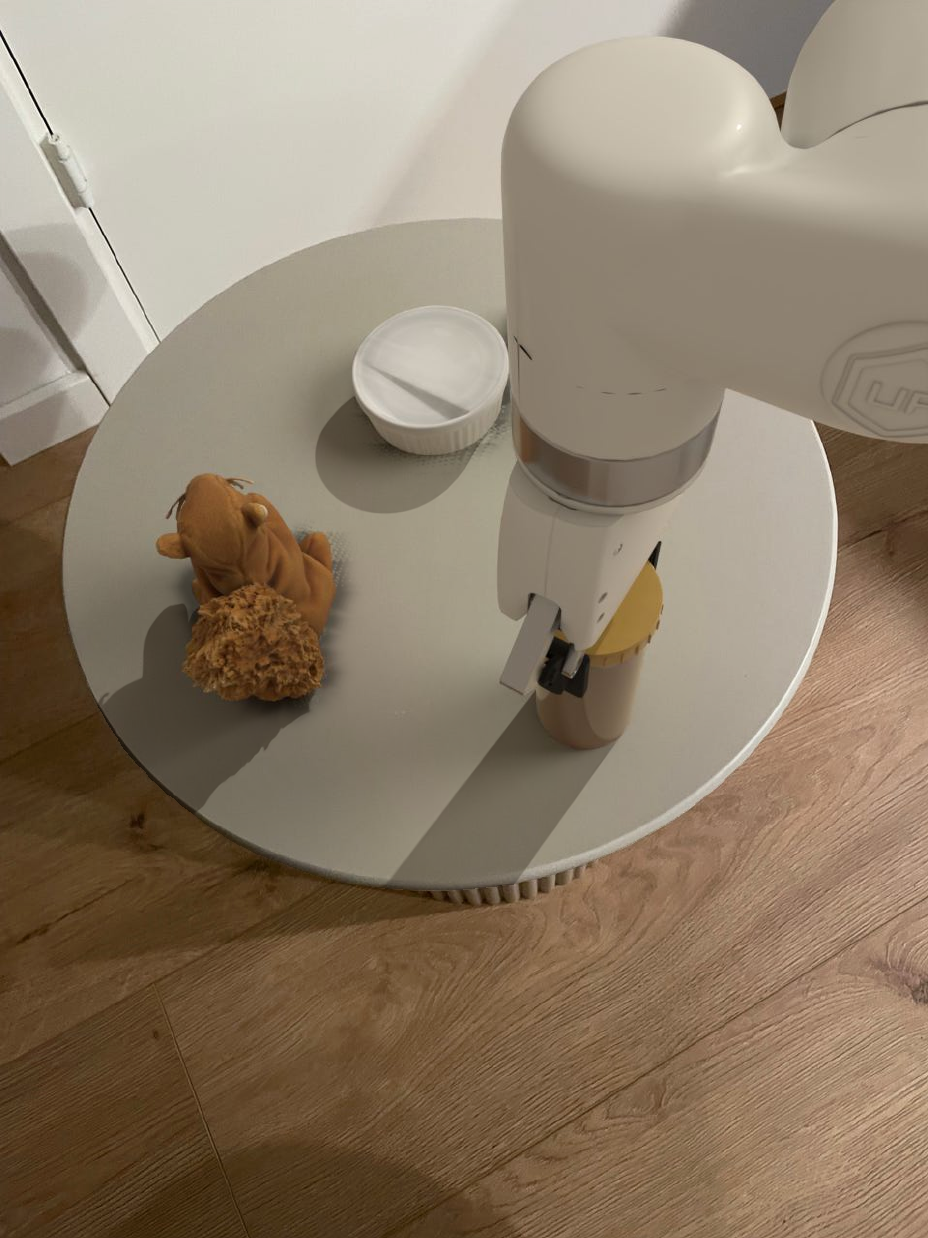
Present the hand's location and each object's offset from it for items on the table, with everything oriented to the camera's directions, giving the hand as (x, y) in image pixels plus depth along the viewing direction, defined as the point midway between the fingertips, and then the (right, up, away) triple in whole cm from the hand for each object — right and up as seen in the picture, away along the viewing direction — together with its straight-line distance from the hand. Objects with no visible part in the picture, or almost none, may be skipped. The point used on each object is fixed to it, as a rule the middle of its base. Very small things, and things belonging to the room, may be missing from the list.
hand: (591, 623), depth 52 cm
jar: (+1, -6, +11) cm, 12 cm away
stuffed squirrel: (-19, -1, +15) cm, 25 cm away
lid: (0, +1, -3) cm, 3 cm away
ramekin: (-9, +16, +23) cm, 29 cm away
